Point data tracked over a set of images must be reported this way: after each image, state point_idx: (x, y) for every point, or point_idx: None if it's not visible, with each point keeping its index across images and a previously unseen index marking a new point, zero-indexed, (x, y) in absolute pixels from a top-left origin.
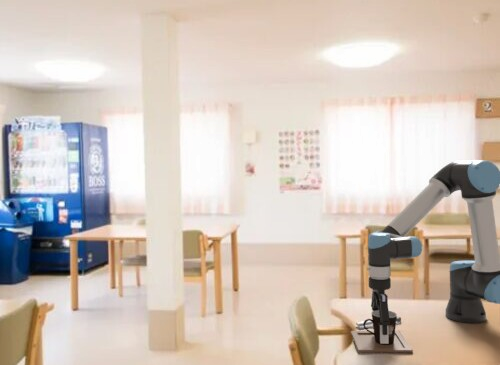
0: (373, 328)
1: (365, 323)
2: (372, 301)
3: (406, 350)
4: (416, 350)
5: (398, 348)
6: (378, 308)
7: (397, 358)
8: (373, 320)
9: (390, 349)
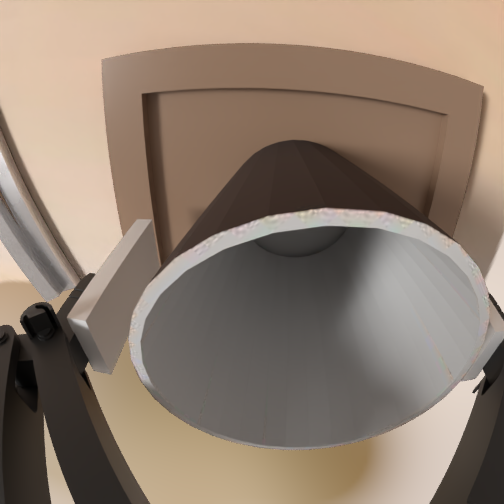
0: (157, 269)
1: (34, 259)
2: (44, 445)
3: (476, 124)
4: (429, 34)
5: (452, 164)
6: (75, 367)
7: (499, 195)
8: (331, 400)
9: (451, 216)
